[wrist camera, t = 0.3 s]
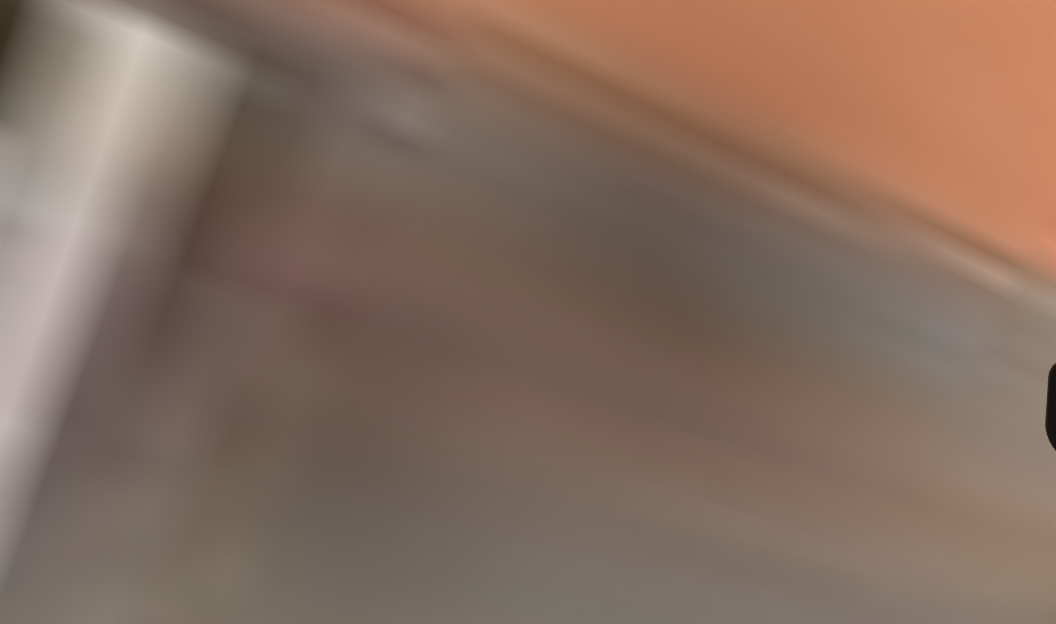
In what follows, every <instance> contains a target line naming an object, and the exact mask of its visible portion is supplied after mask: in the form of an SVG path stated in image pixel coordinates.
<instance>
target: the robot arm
mask: <svg viewBox="0 0 1056 624" xmlns="http://www.w3.org/2000/svg"><path fill="white" fill-rule="evenodd" d="M1045 428H1046V433H1047V436H1048V438H1049V441H1050V443H1051V444H1052V446H1053V448H1054V449H1055V451H1056V363H1055V364H1054V365H1053V366H1052V368H1051V370H1050V371H1049V376H1048V390H1047V405H1046V421H1045Z"/></svg>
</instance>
